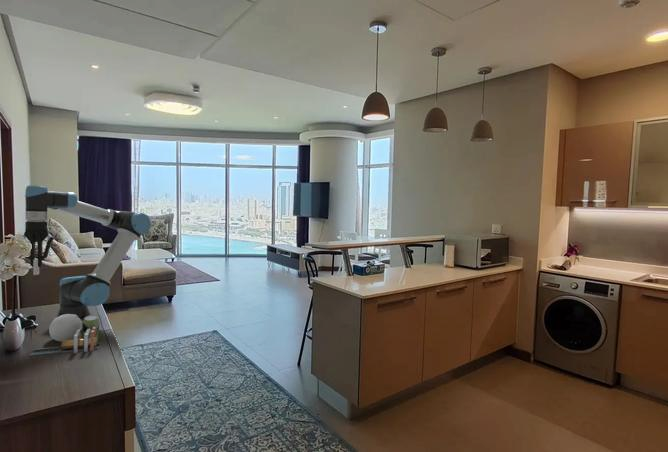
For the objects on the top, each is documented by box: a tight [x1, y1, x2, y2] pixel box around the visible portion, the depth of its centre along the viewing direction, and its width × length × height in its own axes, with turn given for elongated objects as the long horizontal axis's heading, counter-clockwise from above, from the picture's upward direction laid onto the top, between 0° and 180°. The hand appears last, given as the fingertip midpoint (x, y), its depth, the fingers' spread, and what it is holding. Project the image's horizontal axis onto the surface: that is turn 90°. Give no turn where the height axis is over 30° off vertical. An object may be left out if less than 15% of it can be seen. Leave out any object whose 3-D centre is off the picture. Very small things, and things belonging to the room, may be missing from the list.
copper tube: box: [60, 337, 98, 350], centre depth 157 cm, size 12×4×4 cm, turn 116°
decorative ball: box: [48, 314, 83, 343], centre depth 166 cm, size 12×12×12 cm
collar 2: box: [83, 328, 91, 353], centre depth 157 cm, size 9×1×7 cm, turn 26°
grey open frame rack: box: [27, 342, 101, 359], centre depth 154 cm, size 9×23×2 cm, turn 116°
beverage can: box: [81, 314, 100, 342], centre depth 165 cm, size 6×7×12 cm
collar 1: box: [73, 329, 82, 354], centre depth 155 cm, size 9×1×7 cm, turn 26°
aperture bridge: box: [90, 327, 96, 352], centre depth 158 cm, size 8×1×8 cm, turn 26°
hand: (36, 274), depth 165 cm, fingers closed
